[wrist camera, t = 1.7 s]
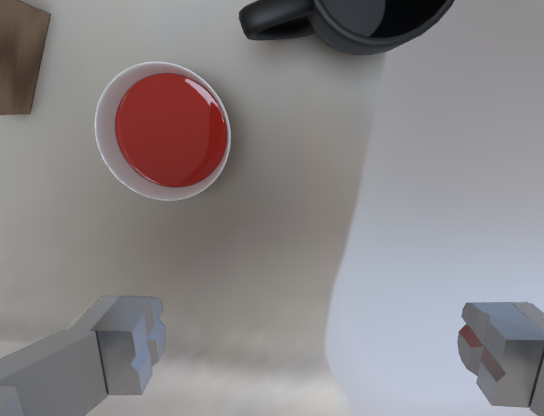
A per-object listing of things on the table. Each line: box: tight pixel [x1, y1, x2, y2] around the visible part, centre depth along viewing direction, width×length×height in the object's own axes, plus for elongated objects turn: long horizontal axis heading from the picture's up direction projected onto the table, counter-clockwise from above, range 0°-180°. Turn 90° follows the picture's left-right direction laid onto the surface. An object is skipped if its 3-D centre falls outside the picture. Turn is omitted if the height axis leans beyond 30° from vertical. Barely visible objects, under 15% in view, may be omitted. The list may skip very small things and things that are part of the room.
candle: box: [94, 61, 231, 201], centre depth 26 cm, size 9×9×6 cm
